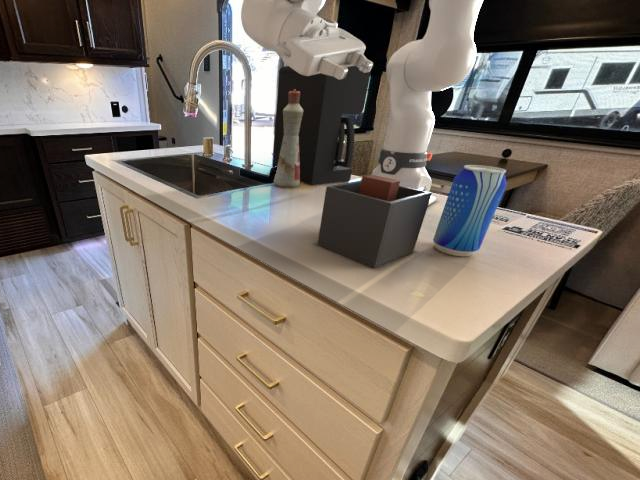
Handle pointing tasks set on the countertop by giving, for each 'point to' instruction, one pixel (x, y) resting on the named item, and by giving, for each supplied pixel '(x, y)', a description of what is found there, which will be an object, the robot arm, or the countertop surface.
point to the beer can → (469, 209)
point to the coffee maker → (322, 122)
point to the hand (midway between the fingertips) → (357, 71)
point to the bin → (371, 223)
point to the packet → (379, 187)
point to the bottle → (290, 144)
